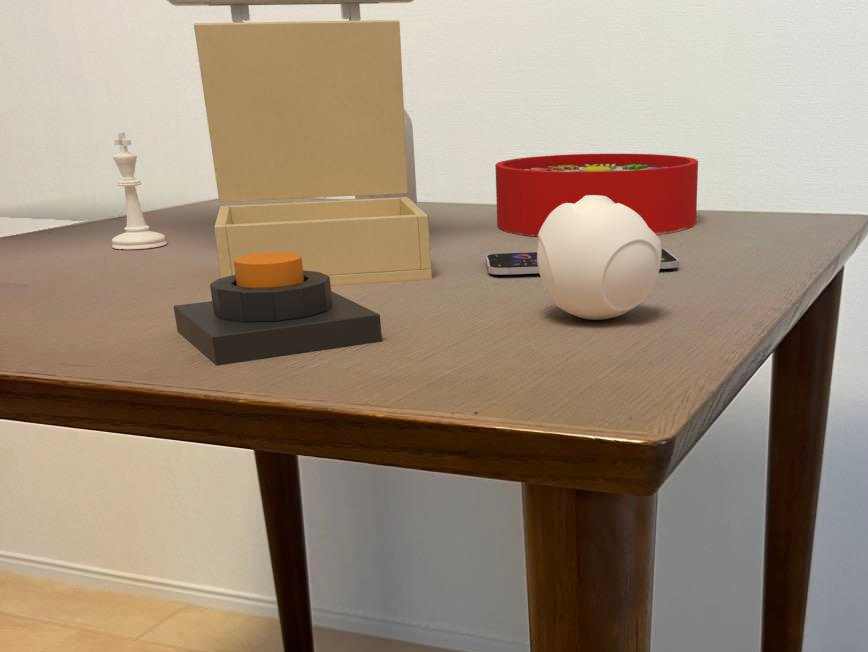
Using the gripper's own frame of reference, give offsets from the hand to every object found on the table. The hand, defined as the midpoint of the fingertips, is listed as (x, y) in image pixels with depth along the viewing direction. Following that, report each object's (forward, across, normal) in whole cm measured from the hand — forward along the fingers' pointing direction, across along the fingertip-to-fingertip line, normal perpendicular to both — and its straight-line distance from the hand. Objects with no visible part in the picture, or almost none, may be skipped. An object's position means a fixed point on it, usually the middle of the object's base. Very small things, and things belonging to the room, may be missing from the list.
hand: (301, 67), depth 89 cm
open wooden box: (+15, 0, +8) cm, 17 cm away
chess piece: (+15, +16, -12) cm, 26 cm away
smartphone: (+15, -20, +13) cm, 28 cm away
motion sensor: (+15, -16, +31) cm, 39 cm away
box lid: (+3, 0, +3) cm, 5 cm away
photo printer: (+15, -8, -19) cm, 26 cm away
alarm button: (+12, +4, +30) cm, 33 cm away
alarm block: (+15, +4, +30) cm, 34 cm away
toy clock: (+15, -28, -10) cm, 34 cm away
